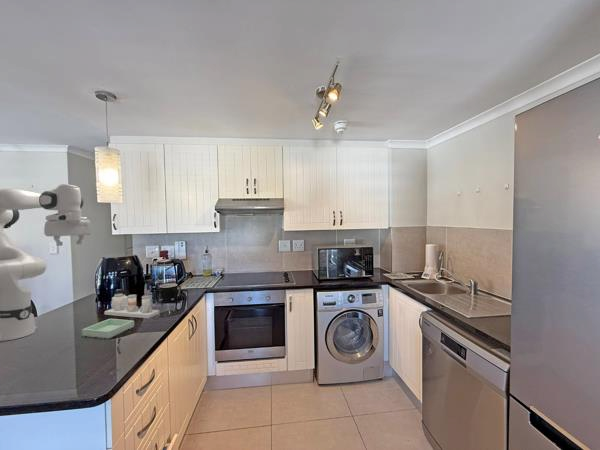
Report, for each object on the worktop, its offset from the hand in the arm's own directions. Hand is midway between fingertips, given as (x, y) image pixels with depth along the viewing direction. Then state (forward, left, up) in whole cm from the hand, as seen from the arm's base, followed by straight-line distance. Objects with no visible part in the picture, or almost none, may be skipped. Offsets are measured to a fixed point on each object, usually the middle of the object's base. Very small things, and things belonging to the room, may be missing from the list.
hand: (69, 244), depth 134 cm
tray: (+11, +12, -47) cm, 49 cm away
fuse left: (-9, +38, -45) cm, 59 cm away
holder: (+1, +38, -47) cm, 60 cm away
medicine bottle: (-18, +48, -47) cm, 69 cm away
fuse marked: (+1, +38, -45) cm, 58 cm away
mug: (+5, +67, -47) cm, 82 cm away
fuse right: (+11, +38, -45) cm, 59 cm away
